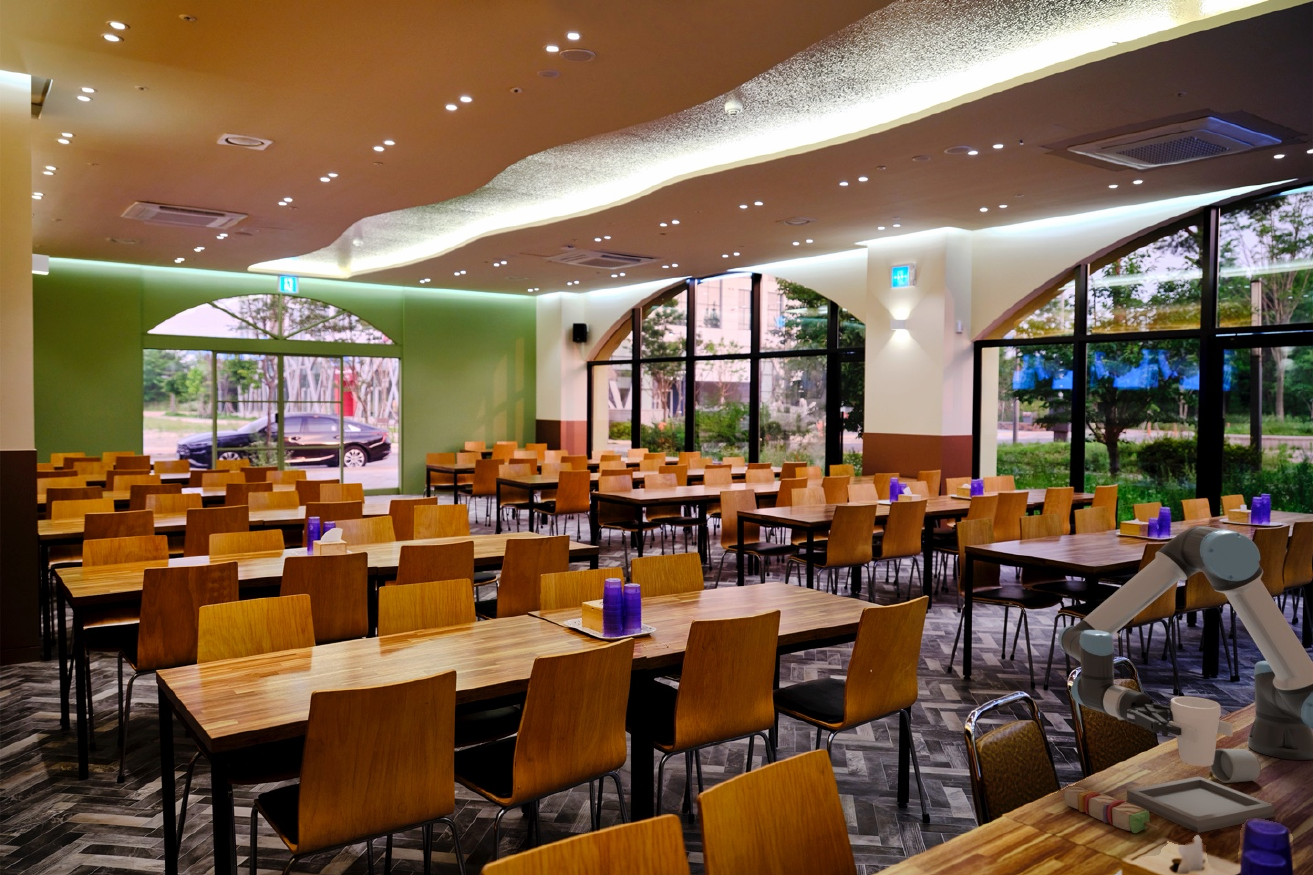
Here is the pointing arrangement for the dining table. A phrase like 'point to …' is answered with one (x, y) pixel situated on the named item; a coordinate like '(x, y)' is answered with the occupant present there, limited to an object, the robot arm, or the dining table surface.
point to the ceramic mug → (1235, 765)
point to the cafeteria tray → (1199, 804)
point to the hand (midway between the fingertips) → (1214, 733)
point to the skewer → (1108, 809)
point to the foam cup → (1203, 719)
